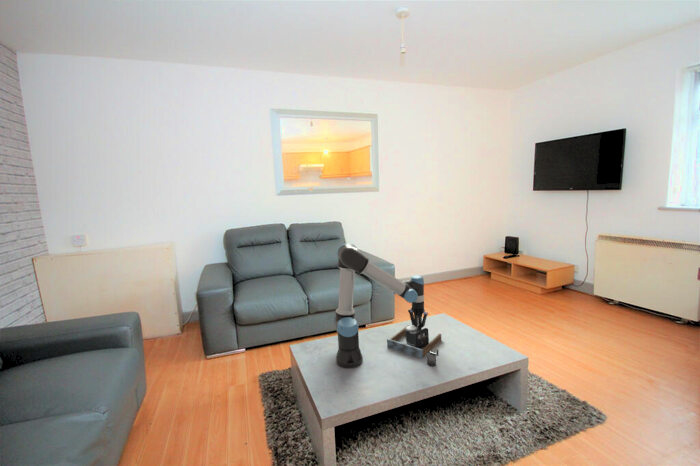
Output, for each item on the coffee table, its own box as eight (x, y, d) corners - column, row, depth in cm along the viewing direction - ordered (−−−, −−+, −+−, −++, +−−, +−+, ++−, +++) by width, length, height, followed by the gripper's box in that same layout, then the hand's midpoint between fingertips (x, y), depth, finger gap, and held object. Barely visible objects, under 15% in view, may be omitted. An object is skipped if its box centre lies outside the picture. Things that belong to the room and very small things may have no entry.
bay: (387, 347, 192) (386, 339, 191) (408, 330, 212) (408, 323, 211) (422, 358, 177) (422, 350, 176) (441, 340, 197) (441, 332, 196)
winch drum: (425, 364, 171) (424, 348, 170) (429, 360, 175) (429, 344, 174) (436, 368, 167) (436, 352, 166) (440, 364, 171) (440, 348, 170)
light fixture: (414, 338, 201) (413, 322, 200) (430, 345, 191) (429, 328, 190) (401, 344, 195) (400, 327, 194) (417, 351, 185) (416, 333, 183)
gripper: (405, 300, 196) (406, 336, 199) (424, 304, 187) (425, 341, 191) (411, 296, 201) (411, 331, 205) (430, 300, 193) (430, 336, 197)
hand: (418, 336), depth 198 cm, fingers closed
